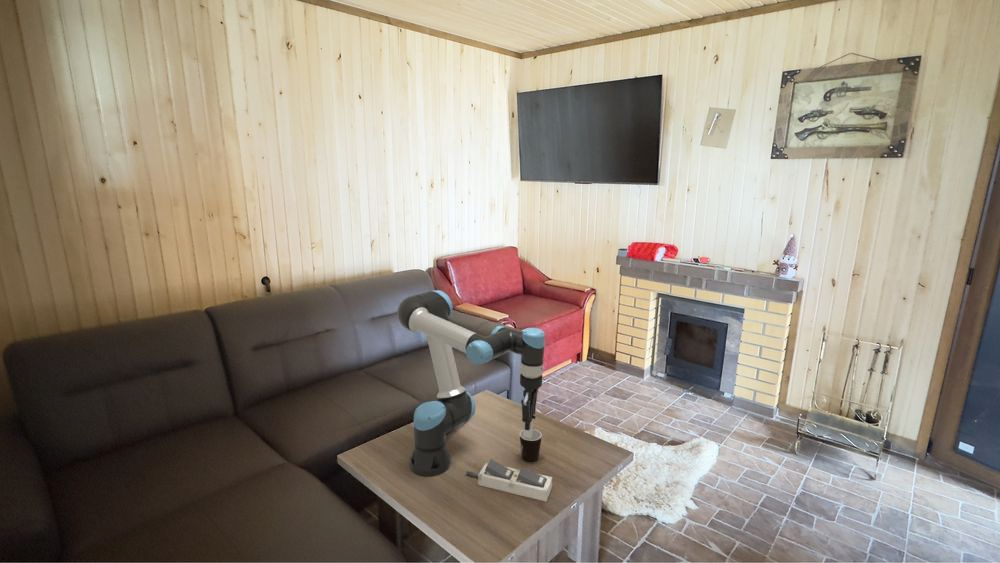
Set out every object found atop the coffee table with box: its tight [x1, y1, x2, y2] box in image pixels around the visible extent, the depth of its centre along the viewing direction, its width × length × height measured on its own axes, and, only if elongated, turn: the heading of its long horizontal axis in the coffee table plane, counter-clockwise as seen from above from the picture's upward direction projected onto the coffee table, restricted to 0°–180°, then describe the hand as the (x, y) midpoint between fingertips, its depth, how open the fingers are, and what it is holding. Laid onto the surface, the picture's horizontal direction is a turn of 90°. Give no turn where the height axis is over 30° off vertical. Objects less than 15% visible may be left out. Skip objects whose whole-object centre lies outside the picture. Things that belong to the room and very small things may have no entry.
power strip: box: [465, 461, 553, 503], centre depth 167 cm, size 31×8×5 cm, turn 70°
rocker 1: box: [485, 459, 513, 480], centre depth 168 cm, size 9×5×2 cm, turn 70°
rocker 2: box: [517, 467, 546, 488], centre depth 164 cm, size 9×5×2 cm, turn 71°
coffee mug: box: [519, 428, 543, 463], centre depth 184 cm, size 12×9×10 cm
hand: (527, 436), depth 164 cm, fingers closed
